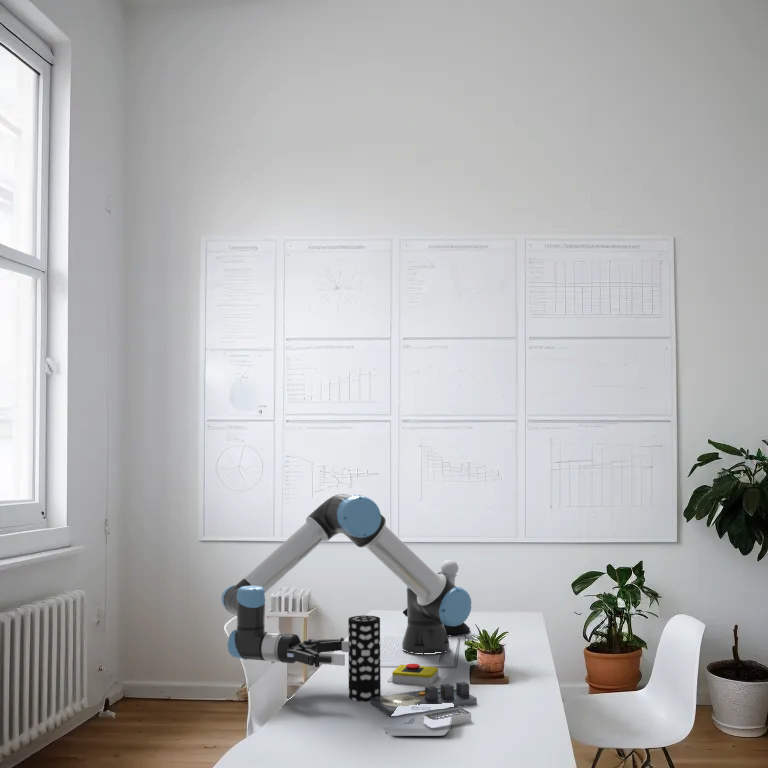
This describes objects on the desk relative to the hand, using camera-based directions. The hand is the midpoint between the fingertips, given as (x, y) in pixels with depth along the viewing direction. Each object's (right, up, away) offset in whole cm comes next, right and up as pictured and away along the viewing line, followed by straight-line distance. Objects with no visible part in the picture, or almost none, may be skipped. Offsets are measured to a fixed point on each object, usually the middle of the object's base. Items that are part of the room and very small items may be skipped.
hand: (354, 653), depth 219 cm
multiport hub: (+23, -10, -22) cm, 33 cm away
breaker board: (+18, -10, -8) cm, 22 cm away
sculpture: (+26, -17, +77) cm, 83 cm away
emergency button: (+17, -13, +15) cm, 26 cm away
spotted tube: (+3, -11, -1) cm, 11 cm away
